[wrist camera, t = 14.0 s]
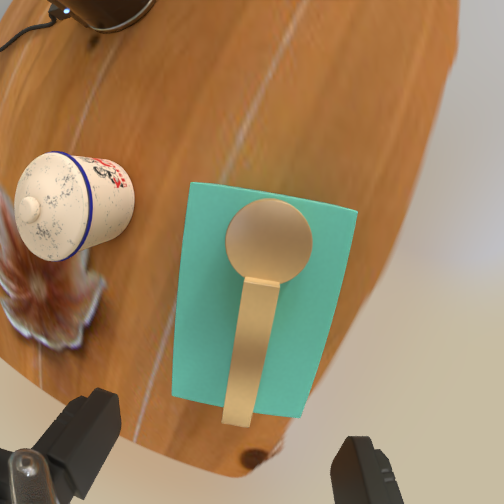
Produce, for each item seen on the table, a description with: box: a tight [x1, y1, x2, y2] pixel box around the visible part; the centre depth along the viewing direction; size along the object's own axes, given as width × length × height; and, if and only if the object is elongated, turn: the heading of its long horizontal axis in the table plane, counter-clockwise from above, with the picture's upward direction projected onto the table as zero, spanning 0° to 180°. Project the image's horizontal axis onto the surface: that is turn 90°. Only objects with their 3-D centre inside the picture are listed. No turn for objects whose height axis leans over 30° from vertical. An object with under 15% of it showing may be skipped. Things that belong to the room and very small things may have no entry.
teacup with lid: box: [14, 151, 134, 262], centre depth 23 cm, size 12×9×12 cm
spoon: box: [221, 198, 313, 428], centre depth 20 cm, size 17×5×3 cm, turn 171°
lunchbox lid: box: [172, 182, 358, 418], centre depth 22 cm, size 18×12×1 cm, turn 171°
